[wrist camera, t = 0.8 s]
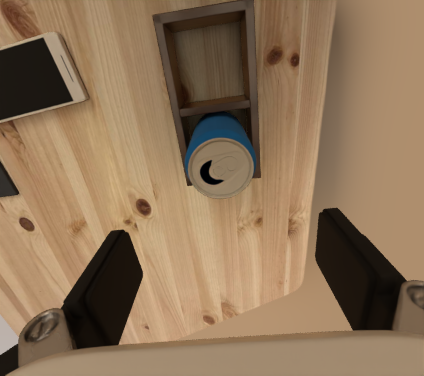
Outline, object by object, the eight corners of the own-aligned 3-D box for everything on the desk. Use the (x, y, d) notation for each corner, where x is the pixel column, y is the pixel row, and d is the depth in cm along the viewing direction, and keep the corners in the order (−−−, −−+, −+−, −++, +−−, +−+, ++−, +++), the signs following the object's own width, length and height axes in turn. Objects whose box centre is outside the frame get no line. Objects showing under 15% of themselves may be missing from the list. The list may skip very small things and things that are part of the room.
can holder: (163, 24, 25) (152, 14, 20) (246, 11, 24) (253, -3, 19) (191, 170, 32) (187, 186, 28) (254, 162, 32) (260, 177, 27)
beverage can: (184, 125, 29) (167, 156, 19) (229, 99, 28) (238, 117, 17) (209, 166, 32) (206, 213, 21) (251, 144, 31) (270, 184, 20)
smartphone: (-59, 67, 27) (-68, 67, 26) (59, 31, 25) (54, 30, 24) (-18, 127, 30) (-25, 129, 29) (90, 99, 28) (86, 100, 27)
